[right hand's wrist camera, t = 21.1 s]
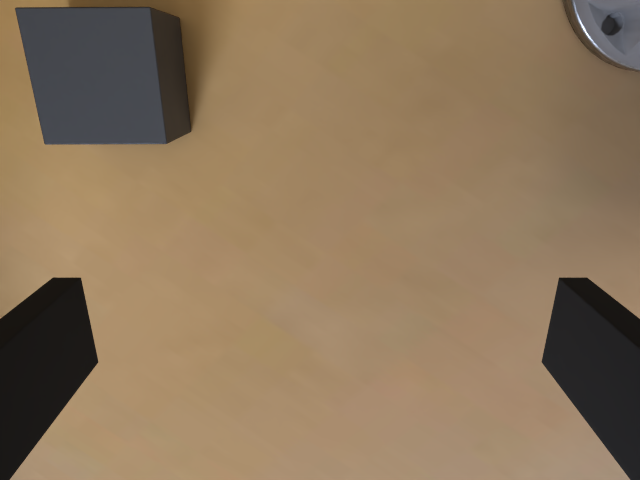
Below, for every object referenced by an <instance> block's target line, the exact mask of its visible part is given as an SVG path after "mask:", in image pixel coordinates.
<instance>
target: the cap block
mask: <svg viewBox="0 0 640 480" xmlns="http://www.w3.org/2000/svg"><path fill="white" fill-rule="evenodd" d="M15 10H16V15H17V19H18V24H19V28H20V33H21V38H22V42H23V47H24V51H25V56H26V61H27V65H28V70H29V74H30V79H31V84H32V88H33V93H34V97H35V102H36V107H37V111H38V116H39V120H40V125H41V130H42V134H43V139H44V143H45V144H167V143H169V142H171V141H173V140H175V139H177V138H179V137H181V136H183V135H185V134H187V133H189V132H191V126H190V116H189V106H188V97H187V87H186V77H185V67H184V58H183V48H182V38H181V28H180V19H179V17H176V16H173V15H170V14H167V13H165V12H162V11H159V10H156V9H153V8H151V7H33V8H15Z"/></svg>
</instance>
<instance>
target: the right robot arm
mask: <svg viewBox="0 0 640 480" xmlns="http://www.w3.org/2000/svg"><path fill="white" fill-rule="evenodd" d="M563 3H564V7H565V11H566V14H567V16H568V19H569V22H570V24H571V26H572V28H573V30H574V31H575V33H576V34H577V36H578V38H579V39H580V40H581V41H582V43H583V44H584V45H585V46H586V47H587V48H588V49H589V50H590V51H591V52H592V53H593V54H595V55H596V56H597V57H599V58H600V59H602V60H603V61H605V62H607V63H609V64H611V65H614V66H616V67H619V68H622V69H626V70H632V71H640V0H563ZM97 363H98V358H97V353H96V349H95V344H94V339H93V334H92V329H91V324H90V320H89V315H88V310H87V305H86V300H85V295H84V291H83V286H82V281H81V278H52V279H51V280H49V281H48V282H47V283H46V284H44V285H43V286H42V287H40V288H39V289H38V290H37V291H35V292H34V293H33V294H32V295H30V296H29V297H28V298H26V299H25V300H24V301H23V302H21V303H20V304H19V305H18V306H16V307H15V308H14V309H12V310H11V311H10V312H9V313H7V314H6V315H5V316H3V317H2V318H1V319H0V480H10V478H11V477H12V476H13V474H14V473H15V472H16V470H17V469H18V468H19V466H20V465H21V464H22V462H23V461H24V460H25V458H26V457H27V456H28V455H29V453H30V452H31V451H32V449H33V448H34V447H35V445H36V444H37V443H38V441H39V440H40V439H41V437H42V436H43V435H44V433H45V432H46V431H47V429H48V428H49V427H50V425H51V424H52V423H53V421H54V420H55V419H56V417H57V416H58V415H59V413H60V412H61V411H62V409H63V408H64V407H65V406H66V404H67V403H68V402H69V400H70V399H71V398H72V396H73V395H74V394H75V392H76V391H77V390H78V388H79V387H80V386H81V384H82V383H83V382H84V380H85V379H86V378H87V376H88V375H89V374H90V372H91V371H92V370H93V368H94V367H95V366H96V364H97ZM542 363H543V364H544V366H545V367H546V368H547V370H548V371H549V372H550V374H551V375H552V376H553V378H554V379H555V380H556V382H557V383H558V384H559V386H560V387H561V388H562V390H563V391H564V392H565V394H566V395H567V396H568V398H569V399H570V400H571V402H572V403H573V404H574V406H575V407H576V408H577V409H578V411H579V412H580V413H581V415H582V416H583V417H584V419H585V420H586V421H587V423H588V424H589V425H590V427H591V428H592V429H593V431H594V432H595V433H596V435H597V436H598V437H599V439H600V440H601V441H602V443H603V444H604V445H605V447H606V448H607V449H608V451H609V452H610V453H611V455H612V456H613V457H614V459H615V460H616V461H617V462H618V464H619V465H620V466H621V468H622V469H623V470H624V472H625V473H626V474H627V476H628V477H629V478H630V480H640V319H639V318H638V317H637V316H635V315H634V314H633V313H631V312H630V311H629V310H628V309H626V308H625V307H624V306H622V305H621V304H620V303H619V302H617V301H616V300H615V299H614V298H612V297H611V296H610V295H608V294H607V293H606V292H605V291H603V290H602V289H601V288H600V287H598V286H597V285H596V284H594V283H593V282H592V281H591V280H589V279H588V278H559V281H558V286H557V291H556V295H555V300H554V305H553V310H552V315H551V320H550V324H549V329H548V334H547V339H546V344H545V349H544V353H543V358H542Z"/></svg>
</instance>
